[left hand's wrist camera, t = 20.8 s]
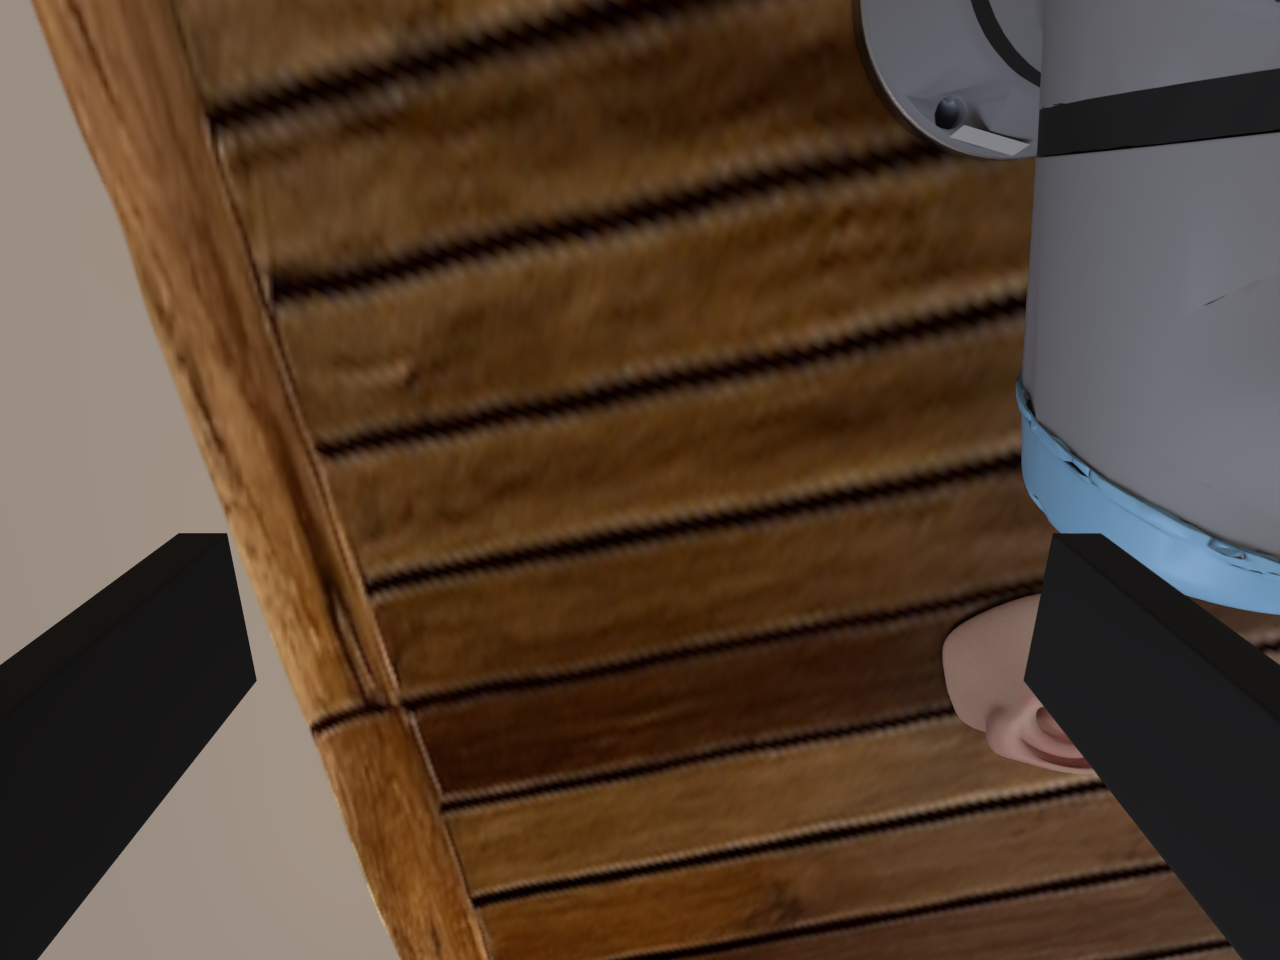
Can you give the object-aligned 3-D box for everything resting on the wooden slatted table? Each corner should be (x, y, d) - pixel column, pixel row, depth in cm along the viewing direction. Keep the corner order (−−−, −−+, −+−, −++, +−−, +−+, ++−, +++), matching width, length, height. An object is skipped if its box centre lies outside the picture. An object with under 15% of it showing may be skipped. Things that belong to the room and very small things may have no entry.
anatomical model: (929, 699, 44) (1107, 578, 42) (907, 659, 48) (1069, 546, 45) (1053, 834, 48) (1225, 730, 45) (1023, 787, 51) (1180, 689, 49)
